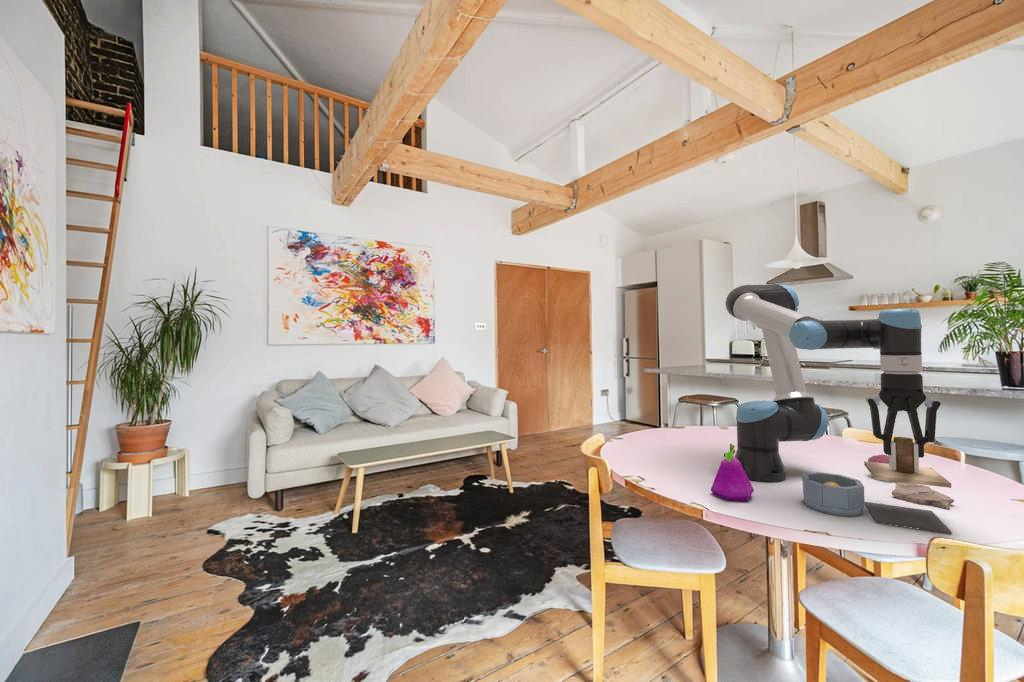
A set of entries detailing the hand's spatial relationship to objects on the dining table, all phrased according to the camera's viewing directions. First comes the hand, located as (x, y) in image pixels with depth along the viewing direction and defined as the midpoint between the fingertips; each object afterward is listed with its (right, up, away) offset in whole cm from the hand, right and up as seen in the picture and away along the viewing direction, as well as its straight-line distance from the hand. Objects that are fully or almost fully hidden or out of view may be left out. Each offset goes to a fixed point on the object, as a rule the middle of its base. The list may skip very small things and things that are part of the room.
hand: (903, 469), depth 103 cm
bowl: (-11, -12, +8) cm, 18 cm away
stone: (+15, -12, +12) cm, 23 cm away
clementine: (-12, -10, +8) cm, 17 cm away
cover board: (0, -2, 0) cm, 2 cm away
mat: (0, -12, 0) cm, 12 cm away
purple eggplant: (-33, -13, +17) cm, 39 cm away
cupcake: (+21, -12, +28) cm, 37 cm away
